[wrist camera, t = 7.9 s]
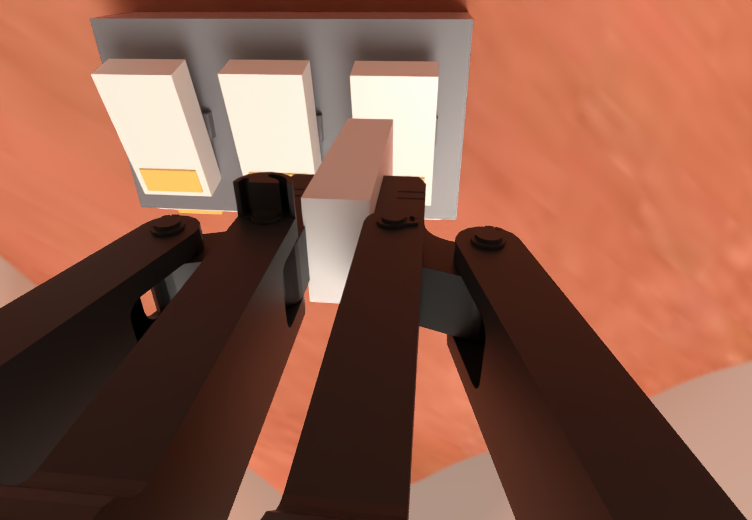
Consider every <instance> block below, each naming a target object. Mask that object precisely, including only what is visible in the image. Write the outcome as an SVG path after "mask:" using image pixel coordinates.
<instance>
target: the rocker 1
mask: <svg viewBox="0 0 752 520" xmlns="http://www.w3.org/2000/svg"><path fill="white" fill-rule="evenodd" d="M91 76H92V78H93V80H94V83H95V85H96V87H97V89H98V91H99V94H100V96H101V98H102V100H103V102H104V105H105V107H106V109H107V111H108V113H109V116H110V118H111V120H112V122H113V124H114V127H115V129H116V131H117V133H118V136H119V138H120V140H121V142H122V144H123V147H124V149H125V151H126V153H127V155H128V158H129V160H130V162H131V164H132V166H133V169H134V171H135V173H136V175H137V177H138V180H139V182H140V184H141V186H142V188H143V191H144V193H145V194H158V195H185V196H212V195H213V193H214V191H215V189H216V188H217V186H218V184H219V182H220V180H221V174H220V171H219V168H218V165H217V161H216V158H215V155H214V152H213V148H212V145H211V142H210V139H209V135H208V132H207V129H206V126H205V122H204V119H203V116H202V113H201V109H200V106H199V103H198V100H197V96H196V93H195V90H194V87H193V83H192V80H191V77H190V74H189V70H188V67H187V64H186V61H185V59H108V60H107V61H105V62H104V63H103V64H102V65H101V66H100V67H98V68H97V69H96V70H95V71H94V72H93V73H92V74H91Z"/></svg>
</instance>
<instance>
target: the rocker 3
mask: <svg viewBox="0 0 752 520" xmlns="http://www.w3.org/2000/svg"><path fill="white" fill-rule="evenodd" d="M438 73H439V62H431V61H355V62H354V65H353V68H352V71H351V74H350V87H351V102H352V118H359V119H393V176H416V177H420V178H421V179H422V180H423V181H424V182H425V183H426V196H425V206H431V195H432V178H433V161H434V144H435V127H436V110H437V93H438Z"/></svg>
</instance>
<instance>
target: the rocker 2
mask: <svg viewBox="0 0 752 520" xmlns="http://www.w3.org/2000/svg"><path fill="white" fill-rule="evenodd" d="M218 78H219V82H220V86H221V90H222V94H223V98H224V102H225V106H226V110H227V114H228V118H229V122H230V126H231V130H232V134H233V138H234V142H235V146H236V150H237V154H238V158H239V162H240V166H241V170H242V174H243V176H244V175H247V174H252V173H258V172H278V173H283V174H286V175H289V176H290V177H291V176H293V175H294V174H315V173H316V171H317V170H318V168H319V166H320V165H321V163H322V161H321V153H320V144H319V136H318V128H317V119H316V111H315V102H314V94H313V85H312V77H311V69H310V60H236V59H230V60H229V61H228V62H227V63H226V64H225V66H224V67H223V68H222V69H221V70H220V72H219V73H218Z"/></svg>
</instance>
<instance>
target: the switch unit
mask: <svg viewBox="0 0 752 520" xmlns="http://www.w3.org/2000/svg"><path fill="white" fill-rule="evenodd" d="M90 21H91V25H92V28H93V32H94V36H95V39H96V43H97V47H98V50H99V54H100V58H101V61H102V64H103V63H104V62H105V61H107V60H108V59H185V61H186V64H187V67H188V70H189V74H190V77H191V80H192V83H193V87H194V90H195V93H196V96H197V100H198V103H199V106H200V109H201V113H202V116H203V119H204V122H205V126H206V129H207V132H208V135H209V139H210V142H211V145H212V148H213V152H214V155H215V158H216V161H217V165H218V168H219V171H220V174H221V180H220V182H219V184H218V186H217V188H216V189H215V191H214V193H213V195H212V196H185V195H158V194H145V193H144V191H143V188H142V186H141V184H140V182H139V180H138V177H137V175H136V173H135V171H134V169H133V166H132V164H131V162H130V160H129V158H128V160H129V163H130V167H131V171H132V174H133V178H134V182H135V185H136V189H137V193H138V196H139V200H140V204H141V207H148V208H159V209H178V211H179V213H201V214H223V213H224V212H225V211H230V212H238V211H237V205H236V199H235V193H234V187H233V181H234V180H236V179H237V178H239V177H242V176H243V174H242V170H241V166H240V162H239V158H238V154H237V150H236V146H235V142H234V138H233V134H232V130H231V126H230V122H229V118H228V114H227V110H226V106H225V102H224V98H223V94H222V90H221V86H220V82H219V78H218V73H219V72H220V70H221V69H222V68H223V67H224V66H225V64H226V63H227V62H228V61H229V60H230V59H236V60H310V69H311V77H312V85H313V94H314V102H315V111H316V119H317V128H318V136H319V144H320V153H321V161H323V160H324V158H325V156H326V154H327V153H328V151H329V149H330V148H331V146H332V144H333V143H334V141H335V139H336V138H337V136H338V134H339V132H340V131H341V129H342V127H343V126H344V124H345V122H346V121H347V119H348V118H352V102H351V87H350V74H351V71H352V68H353V65H354V62H355V61H431V62H439V73H438V93H437V110H436V127H435V144H434V161H433V178H432V195H431V206H425V216H424V219H430V220H441V219H449V220H456V216H457V205H458V193H459V181H460V170H461V158H462V146H463V134H464V123H465V111H466V99H467V87H468V76H469V64H470V52H471V41H472V29H473V18H472V17H471V15H470V14H469V12H129V13H123V14H116V15H110V16H103V17H96V18H90ZM127 156H128V155H127Z"/></svg>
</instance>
